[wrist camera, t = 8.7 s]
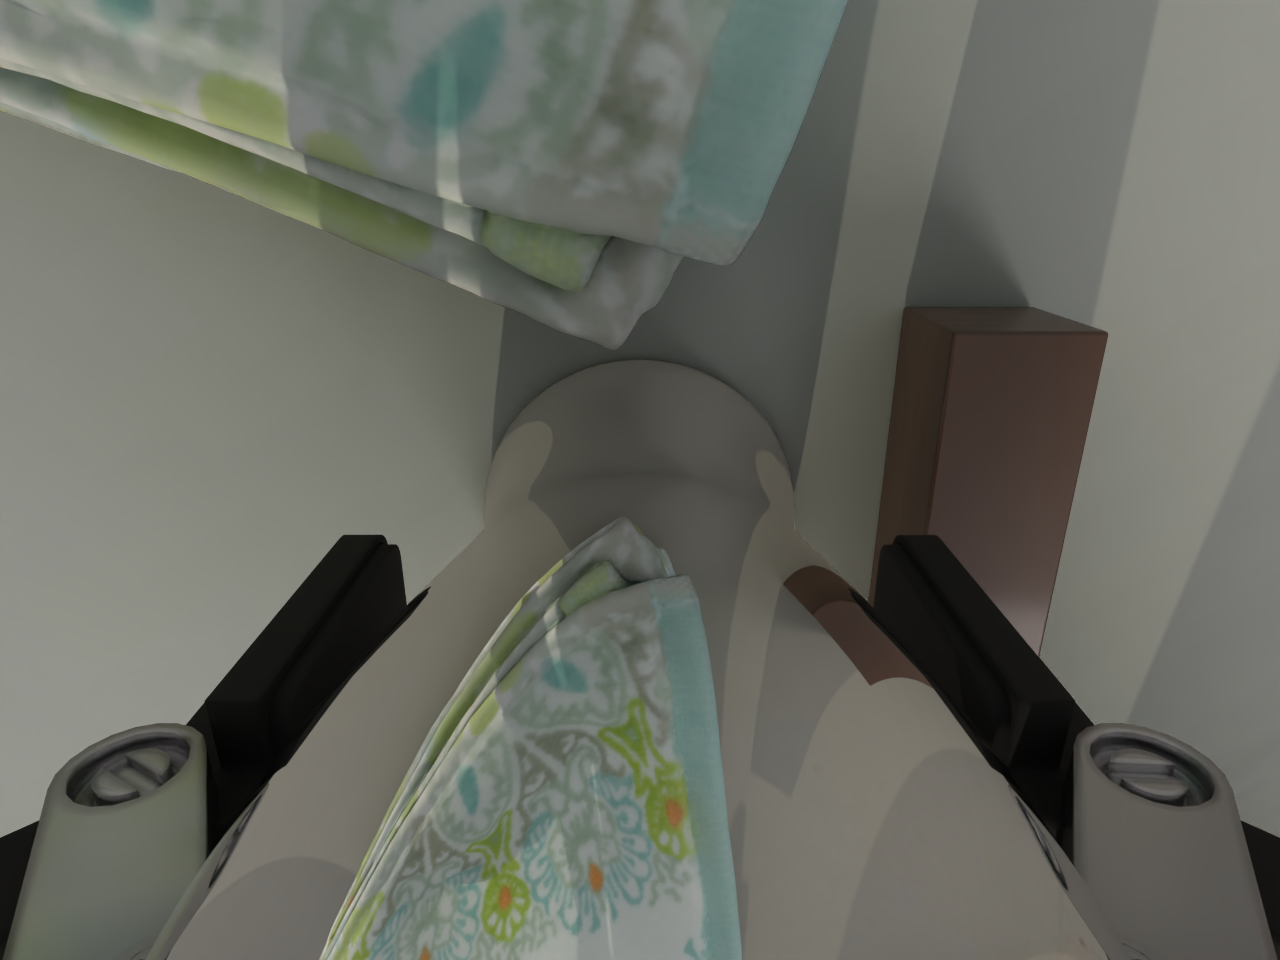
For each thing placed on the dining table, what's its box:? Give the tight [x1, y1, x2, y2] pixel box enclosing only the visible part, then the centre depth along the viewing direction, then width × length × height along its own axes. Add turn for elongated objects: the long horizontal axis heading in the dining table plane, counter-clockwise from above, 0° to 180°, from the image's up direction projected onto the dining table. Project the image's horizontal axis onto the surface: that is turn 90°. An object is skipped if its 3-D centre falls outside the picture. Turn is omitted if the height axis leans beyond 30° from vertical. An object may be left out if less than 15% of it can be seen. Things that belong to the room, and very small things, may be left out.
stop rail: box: [869, 307, 1108, 657], centre depth 15 cm, size 2×10×2 cm, turn 0°
